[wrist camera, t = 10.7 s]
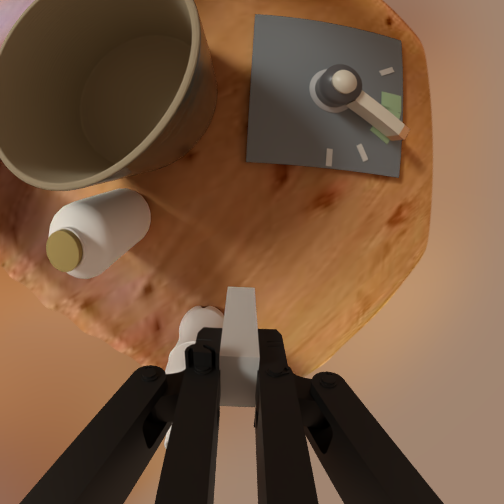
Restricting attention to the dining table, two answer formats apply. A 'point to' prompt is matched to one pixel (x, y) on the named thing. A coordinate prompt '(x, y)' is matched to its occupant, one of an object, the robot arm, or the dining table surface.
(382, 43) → the dial board
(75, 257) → the potion bottle
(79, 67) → the planter
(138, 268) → the dining table surface
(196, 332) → the water bottle
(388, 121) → the peg lever
